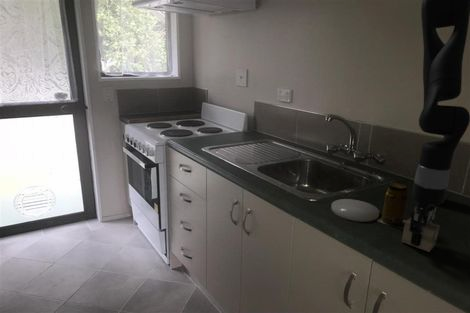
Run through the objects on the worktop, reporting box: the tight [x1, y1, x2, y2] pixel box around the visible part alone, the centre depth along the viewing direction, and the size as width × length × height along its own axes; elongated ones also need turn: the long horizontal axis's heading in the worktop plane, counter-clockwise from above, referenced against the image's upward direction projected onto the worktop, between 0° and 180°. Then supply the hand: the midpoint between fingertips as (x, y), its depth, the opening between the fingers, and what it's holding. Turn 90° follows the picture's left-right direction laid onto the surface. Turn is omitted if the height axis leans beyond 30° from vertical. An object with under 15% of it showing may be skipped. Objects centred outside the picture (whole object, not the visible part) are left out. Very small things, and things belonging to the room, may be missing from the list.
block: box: [401, 217, 441, 253], centre depth 93 cm, size 5×7×6 cm
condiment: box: [376, 182, 408, 231], centre depth 105 cm, size 7×8×12 cm
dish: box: [330, 198, 380, 223], centre depth 114 cm, size 15×15×1 cm
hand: (418, 241), depth 94 cm, fingers closed on block, 5 cm apart
